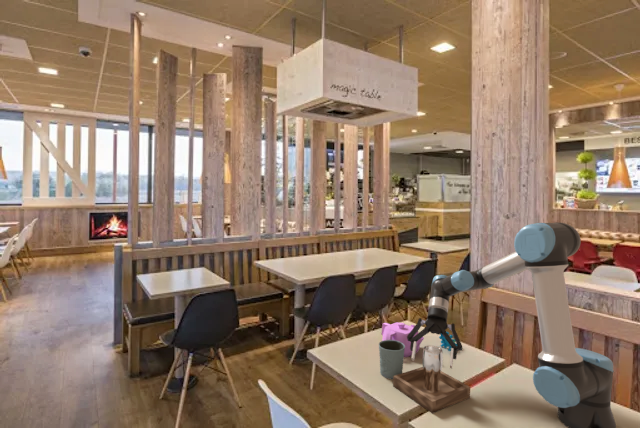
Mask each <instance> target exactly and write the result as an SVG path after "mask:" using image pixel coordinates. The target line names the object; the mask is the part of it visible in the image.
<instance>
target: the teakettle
mask: <svg viewBox="0 0 640 428" xmlns="http://www.w3.org/2000/svg"><path fill="white" fill-rule="evenodd" d="M381 325H382V327H381V332H380V333H381V335H382V340H381V341H384V340H396V341H399V342H401V343H403V344H404V345H405V351H404V358H408V357H412V351H411V349H410V345H411V342H410V341H408V339H407V336H408V334H409V333H410V332H411V331H412V329H413V328H414V327H415V325H416V324H410V325H408V324H405V323H404V322H397V321H396V322H394V323H391V324H390V323H388V322H384V323H381ZM418 333H419V330H418V331H417V333H416V334H415V335H417V334H418ZM415 335H414V336H415ZM414 336H413V337H414ZM424 340H425V336H423V337H422V338H421V339H419V340H418V341H417V342H416V344H417V346H416V352H415V354H417V353H418V352H419V351H420V345H421V344H422V342H423V341H424Z"/></svg>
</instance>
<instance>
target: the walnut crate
mask: <svg viewBox="0 0 640 428" xmlns="http://www.w3.org/2000/svg"><path fill="white" fill-rule="evenodd" d="M392 381H393V382H392V387H393V388H394V389H396V390H398V391H399V392H401V394H403V395H405V396H406V397H408V398H409V399H411V401H413V400H414V401H413V402H415V403H416V404H418V405H419V406H421V407H422V408H423V409H425V410H426V411H428V412H429V413H431V414H434V413H437V412H440V411H441V410H444V409H446V408H448V407H451V406H454V405H456V404H458V403H462V402H463V401H466V400H468V399H470V398H471V386H470V385H467V384H465V383H464V382H462V381H460V380H458V379H456V378H455V377H453V376H452V375H449V374H448V373H445V372H444V371H442V370H441V374H440V379H439V386H440V392H439V393H437V394H431V393H427V392H426V391H424V390H423V383H424V371H423V366H421V367H418V368H414V369H411V370H408V371H405V372H402V373H401V374H398V375H395V376H393V379H392Z"/></svg>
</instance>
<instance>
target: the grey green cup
mask: <svg viewBox="0 0 640 428" xmlns="http://www.w3.org/2000/svg"><path fill="white" fill-rule="evenodd" d="M378 351H379V370H380V372H379V373H380V375H381V376H382V377H383V378H386V379H388V380H393V376H395V375H398V374H401V373H403V369H404V368H403V367H404V360H405V359H404V358H405V357H404V351H405V345H404V344H403V343H401V342H399V341H396V340H384V341H382V340H381V341H380V342H379V343H378Z"/></svg>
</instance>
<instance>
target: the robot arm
mask: <svg viewBox="0 0 640 428" xmlns="http://www.w3.org/2000/svg"><path fill="white" fill-rule="evenodd" d="M581 243H582V242H581V236H580V233H579V232H578V230H577V229H576V228H575V227H574V226H572V225H570V224H568V223H564V222H537V223H530V224H527V225H525V226H523V227H522V228H520V229H519V231H518V232H517V233H516V234H515V237H514V244H513V245H514V250H515V251H514V252H511V253H509V254H507V255H505V256H503V257H501V258H499V259H497V260H495V261H493V262H491V263H489V264H487V265H484V266H483V267H480V268H478V269H477V270H474V271H467V270H465V269H461V270H459V271H455V272H453V273H452V274H450V275H448V276H447V275H444V274H440V275H439V274H437V275H435V276H434V277H433V279H432V282H431V284H430V285H431V288H430V296H429V302H428V311H427V316H426V320H423V319H422V318H420V317H419V318H418V320H417V323H416V324H414V325H415V327H414V328H413V329H412V331H411V332H410V333H409V334H408V336H407V339H408V341H410V342H411V345H410V349H411V351H412V355H411V356H410V357H411V361H413V362H414V361H415V357H416V353H415V352H416V346H417V344H416V342H417V341H418V340H419V339H421V338H422V337H425V335H428V334H432V335H433V334H436V335H439V336H441V335H440V334H442V335H443V336H444V337H445V339H446V340H447V341H448V343H449V344H450V346H451V347H452V348H451V351H450V360H449V369H453V364H454V363H453V362H454V360H456V359H457V355H458V352H459V351H463V344H462V342H461V340H460V337H459V335H458V333H457V330H456V324H455V323H451V324H448V314H449V313H448V312H449V305H450V297H452V296H455V295H457V294H459V293H464V292H470V291H476V290H477V291H478V290H486V289H489V288H491V287H493V286H494V285H495V284H497V283H498V282H501V281H504V280H505V279H506V280H507V279H509V278H510V277H511V278H512V277H513V276H516V275H519V274H520V273H523V272H525V271H530V274H531V279H532V280H531V281H532V286H533V293H534V300H535V301H534V302H535V307H536V314H537V321H538V328H539V329H538V330H539V333H540V335H539V336H540V342H541V349H542V351H541V352H540V353H538V355H537V359H538V361H537V362H538V367H537V368H536V369H535V371H534V372H533V375H532V382H533V384H534V388H535V390H536V391H537V393H538V394H539V395H540V396H541V397H542V398H543V399H544V401H546V402H547V403H549V404H550V405H552V406H554V407H557V418H558V420H559V421H560V422H561V423H562V424H563V425H564V426H565V427H567V428H617V425H616V421H615V418H614V414H613V412H612V408H611V403H612V401H611V400H612V390H613V389H612V388H613V380H614V379H613V378H614V373H615V372H614V363H613V362H614V361H612V360H611V358H609V357H608V356H605V355H604V354H601V353H599V352H595V351H593V350H589V349H585V348H580V347H576V345H575V344H576V343H575V339H574V337H575V336H574V331H573V325H572V319H571V313H570V312H571V311H570V306H569V305H570V304H569V299H568V292H567V287H566V279H565V278H566V277H565V273H564V272H565V270H566V269H567V268H568V267H569V261H568V258H569V257H572V256H573V255H575V254H576V253H577V252H578V250H579V249H580V247H581ZM424 325H425V326H424ZM422 326H424V328H423V329H422V330H421V331H419V330H420V329H421V327H422ZM447 329H449V330H450V331H451V333H452V334H451V335H452V336H453V338H452V339H455V341H456V342H455V343H456V344H457V346H456V345H455V343H454V342H453V341H452V339H451V338H450V334H447V332H448V331H447ZM417 331H418V334H417V335H415V334H416V333H417ZM414 335H415V336H414ZM413 336H414V337H413Z"/></svg>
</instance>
